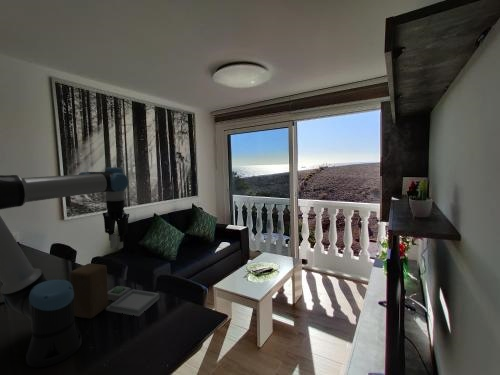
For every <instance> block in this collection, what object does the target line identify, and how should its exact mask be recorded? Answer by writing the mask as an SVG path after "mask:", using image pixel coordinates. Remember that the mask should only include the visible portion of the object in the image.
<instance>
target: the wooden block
mask: <svg viewBox="0 0 500 375" xmlns="http://www.w3.org/2000/svg"><path fill="white" fill-rule="evenodd" d="M107 269H108V267H107V265H105V264H99V263H98V264H97V263H87V264H85V265H82V266H80V267H78V268H76V269H73V270H72V271H70V274H69V275H70V278H69V279H70V283H71V284H72V286H73V290H74V315H75V317H76V318H77V317H78V318H83V319H90V320H91V319H93V318H95V317H96V316H97V315H99V314H100V313H101V312H103V311H104V310H106V307H108V306H109V300H108V291H109V290H108V270H107Z"/></svg>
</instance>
